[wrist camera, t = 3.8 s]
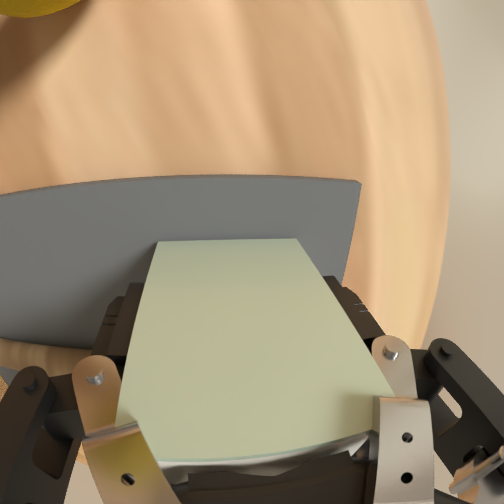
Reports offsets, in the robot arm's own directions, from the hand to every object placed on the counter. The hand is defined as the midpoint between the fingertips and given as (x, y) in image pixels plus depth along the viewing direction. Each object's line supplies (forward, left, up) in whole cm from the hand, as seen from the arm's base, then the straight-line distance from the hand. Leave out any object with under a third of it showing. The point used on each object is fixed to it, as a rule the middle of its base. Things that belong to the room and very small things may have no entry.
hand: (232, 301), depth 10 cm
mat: (+4, -7, -3) cm, 9 cm away
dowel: (+6, -11, -3) cm, 13 cm away
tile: (0, 0, -3) cm, 3 cm away
